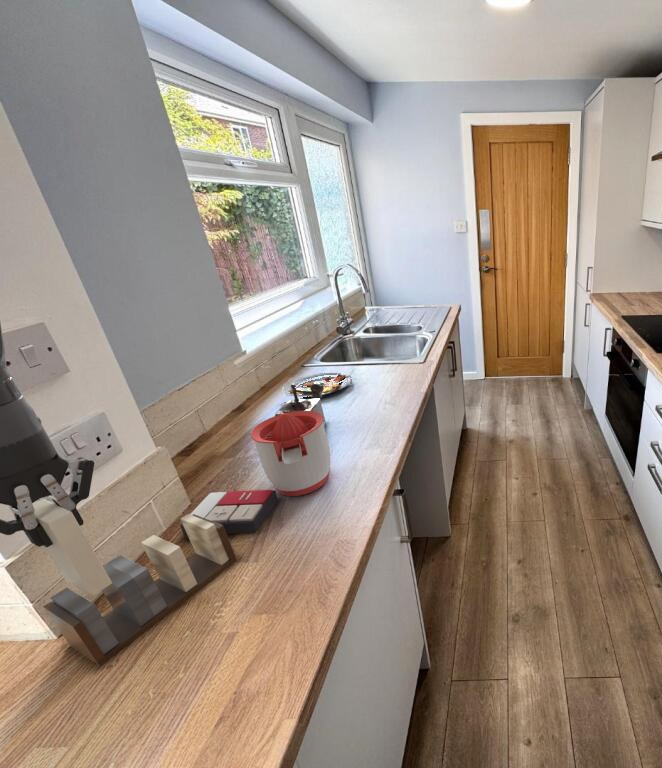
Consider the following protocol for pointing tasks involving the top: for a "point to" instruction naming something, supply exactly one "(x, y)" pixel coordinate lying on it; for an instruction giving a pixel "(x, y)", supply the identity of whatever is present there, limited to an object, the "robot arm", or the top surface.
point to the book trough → (142, 590)
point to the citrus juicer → (294, 451)
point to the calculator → (237, 509)
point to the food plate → (327, 389)
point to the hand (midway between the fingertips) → (61, 536)
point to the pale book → (71, 548)
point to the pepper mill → (305, 401)
